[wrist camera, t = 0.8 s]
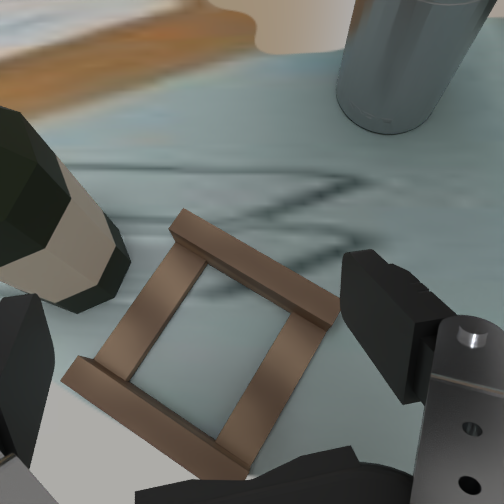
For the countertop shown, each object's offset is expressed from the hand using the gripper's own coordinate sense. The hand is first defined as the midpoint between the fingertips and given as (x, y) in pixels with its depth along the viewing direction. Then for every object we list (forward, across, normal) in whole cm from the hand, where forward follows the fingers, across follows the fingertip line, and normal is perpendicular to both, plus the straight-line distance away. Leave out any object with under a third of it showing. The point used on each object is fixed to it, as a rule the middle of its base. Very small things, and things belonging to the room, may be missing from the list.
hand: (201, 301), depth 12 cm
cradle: (+18, -2, +16) cm, 24 cm away
